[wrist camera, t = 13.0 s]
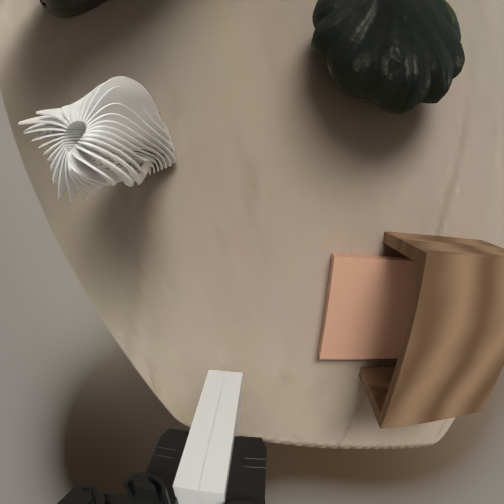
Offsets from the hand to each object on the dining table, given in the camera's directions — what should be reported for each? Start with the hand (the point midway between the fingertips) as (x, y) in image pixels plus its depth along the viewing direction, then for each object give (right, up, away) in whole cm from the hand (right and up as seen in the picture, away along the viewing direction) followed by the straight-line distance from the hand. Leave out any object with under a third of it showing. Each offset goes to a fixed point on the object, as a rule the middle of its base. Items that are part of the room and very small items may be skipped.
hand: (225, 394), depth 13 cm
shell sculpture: (-9, +17, +18) cm, 26 cm away
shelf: (+22, 0, +20) cm, 30 cm away
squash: (+14, +27, +14) cm, 34 cm away
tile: (+18, 0, +20) cm, 27 cm away
